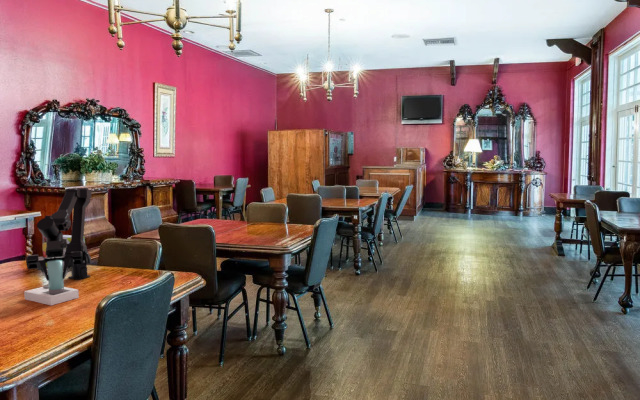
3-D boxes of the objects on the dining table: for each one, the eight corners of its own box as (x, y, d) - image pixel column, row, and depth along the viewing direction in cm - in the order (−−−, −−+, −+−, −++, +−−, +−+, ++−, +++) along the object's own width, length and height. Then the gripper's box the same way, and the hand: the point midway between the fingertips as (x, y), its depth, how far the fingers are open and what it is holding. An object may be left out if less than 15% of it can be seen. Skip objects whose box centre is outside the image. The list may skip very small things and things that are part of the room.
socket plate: (24, 299, 190) (24, 289, 190) (52, 291, 200) (52, 282, 199) (51, 305, 182) (50, 295, 182) (78, 297, 192) (78, 288, 192)
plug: (46, 296, 189) (44, 262, 187) (58, 293, 193) (56, 259, 192) (54, 298, 186) (52, 263, 185) (67, 295, 190) (65, 260, 189)
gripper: (24, 234, 187) (23, 270, 178) (81, 230, 195) (83, 264, 186) (27, 251, 195) (27, 286, 186) (81, 246, 203) (83, 280, 194)
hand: (55, 279), depth 188 cm, fingers closed on plug, 5 cm apart
